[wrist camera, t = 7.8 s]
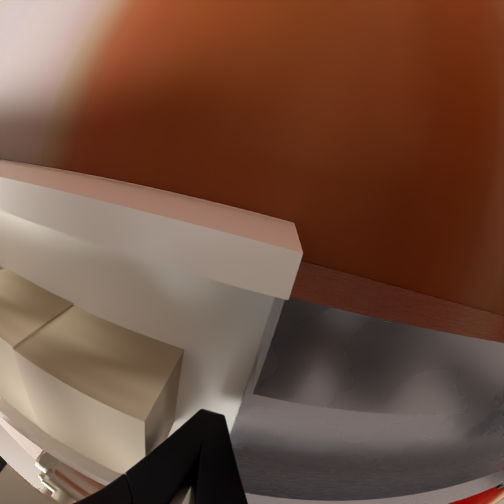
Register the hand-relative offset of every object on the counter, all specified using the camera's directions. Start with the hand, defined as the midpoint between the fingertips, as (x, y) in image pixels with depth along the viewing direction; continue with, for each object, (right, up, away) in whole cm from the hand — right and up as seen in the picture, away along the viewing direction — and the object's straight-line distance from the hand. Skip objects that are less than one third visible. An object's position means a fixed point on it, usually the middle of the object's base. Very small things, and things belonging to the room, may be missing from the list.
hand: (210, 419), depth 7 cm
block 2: (-3, +1, +1) cm, 3 cm away
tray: (-7, +2, +2) cm, 7 cm away
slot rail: (+10, -2, +1) cm, 11 cm away
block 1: (-7, +2, +1) cm, 7 cm away
